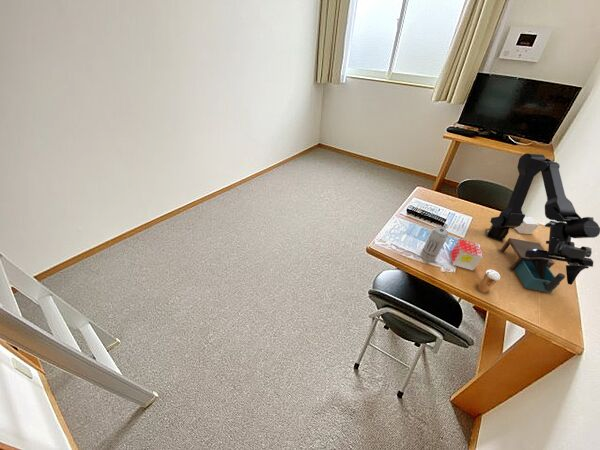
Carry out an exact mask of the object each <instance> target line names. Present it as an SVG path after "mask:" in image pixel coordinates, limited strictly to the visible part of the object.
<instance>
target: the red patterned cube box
mask: <svg viewBox="0 0 600 450" xmlns="http://www.w3.org/2000/svg"><path fill="white" fill-rule="evenodd" d="M450 256H451V264H452V266H456V267H459V268H463V269H466V270H470V271H474V270H475V268H476V267H477V266H478V265H479V263H480V261H482V259H483V257H484V256H483V253H482V249H481V244H479V243H476V242H472V241H469V240H465V239H461V238H458V240H457V241H456V243H455V245H454V246H453V248H452V250H451V252H450Z"/></svg>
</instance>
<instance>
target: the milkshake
mask: <svg viewBox="0 0 600 450" xmlns="http://www.w3.org/2000/svg"><path fill="white" fill-rule="evenodd" d="M500 280H501V275H500V273H499V272H498V271H496V270H494V269H488V270H486V272H485V273H484V275H483V277H482V279H481V281H480V282H479V284H478V285H477V289H478V291H480V292H481V293H487V292H488V291H489V290H491V288H492V287H493V286H494V285H495V284H497V283H498V281H500Z"/></svg>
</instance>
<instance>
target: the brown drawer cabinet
mask: <svg viewBox="0 0 600 450" xmlns="http://www.w3.org/2000/svg"><path fill="white" fill-rule="evenodd" d="M509 246H510V247H511V248H512V250H513V252H514V253H515V255H516V256H517V258H516V260H515V261H514V262H513V264H512V265H511V266H510V267H509V269H510V271H515V269H516V268H517V267H518V265H519V264H520V263H521V262H522V261H523V260H524V261H529V262H531V260H529V257H525V252H526V251H527V250H530V249H539V250H545V249H544V247H543V246H542V245H541V243H540V242H535V241H529V240H523V239H517V238H512V237H508V239H507V240H506V242H505V243H504V244H503V246H502V247H501V249H499V252H500V253H501V254H504V253H505V252H506V251H507V249H508V248H509ZM546 259H547V258H546ZM547 260H549V261H548V263H547V264H546V265H547V266H548V268H549V269H551V268H552V267H553V266H554V265H555V262H554V261H553V259H547Z"/></svg>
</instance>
